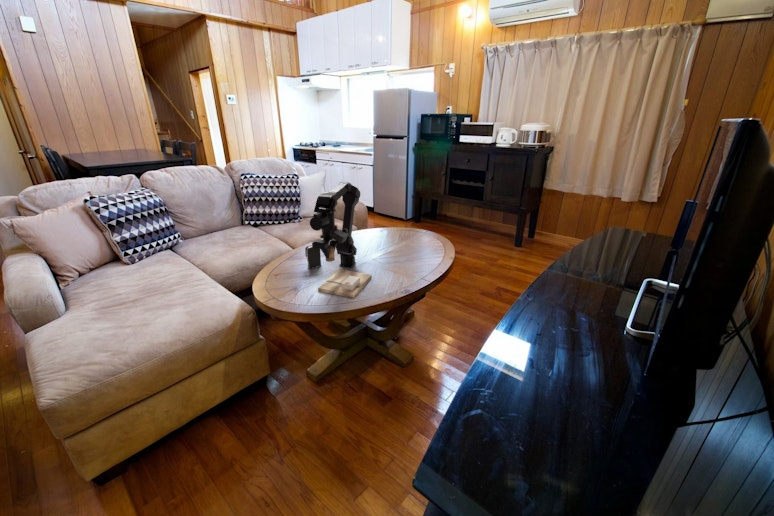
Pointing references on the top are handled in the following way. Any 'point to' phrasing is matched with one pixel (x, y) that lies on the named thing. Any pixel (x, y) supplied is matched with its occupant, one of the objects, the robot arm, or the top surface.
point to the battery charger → (313, 257)
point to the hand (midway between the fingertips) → (330, 256)
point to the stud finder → (350, 282)
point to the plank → (335, 283)
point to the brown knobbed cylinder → (331, 254)
